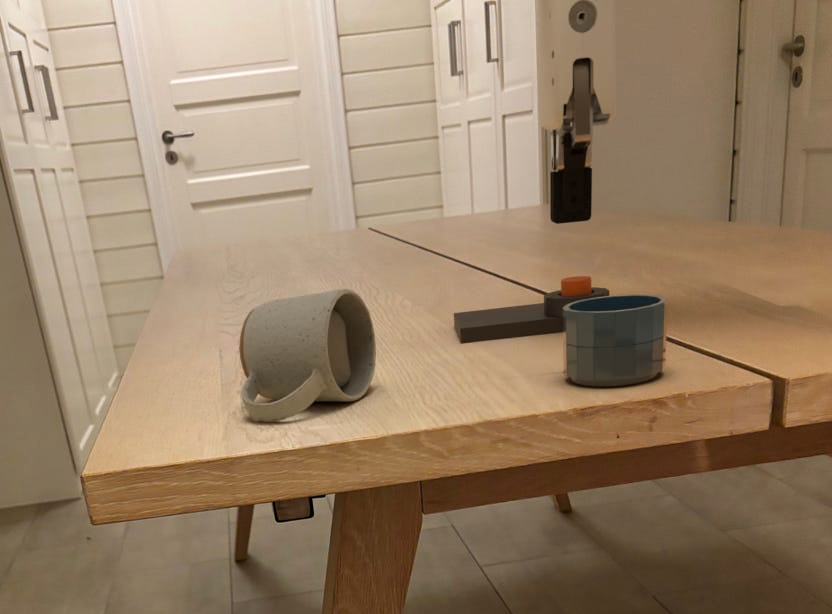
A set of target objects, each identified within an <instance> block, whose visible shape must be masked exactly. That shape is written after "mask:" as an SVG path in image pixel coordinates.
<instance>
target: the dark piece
mask: <svg viewBox="0 0 832 614" xmlns="http://www.w3.org/2000/svg"><path fill="white" fill-rule="evenodd" d="M605 296H610V290H609V289H608V288H606V287H596V286H595V287H594V286H591V293H590V294H585V295H576V296H561V289H559V290H554V291H551V292H548V293H545V294H544V295H543V302H540V303H529V304H523V305H513V306H505V307H495V308H488V309H487V308H486V309H477V310H470V311H468V310H467V311H460V312H454V313H453V325H454V329H455V332H456V335H457V338H458V341H459V342H460V343H459V344H461V345H462V344H470V343H478V342H479V343H480V342H489V341H497V340H506V339H507V340H508V339H516V338H524V337H525V338H526V337H535V336H543V335H552V334H561V333H563V307H564V306H566V305H567V304H569V303H572V302H576V301H579V300H585V299H590V298H596V297H605Z"/></svg>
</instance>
